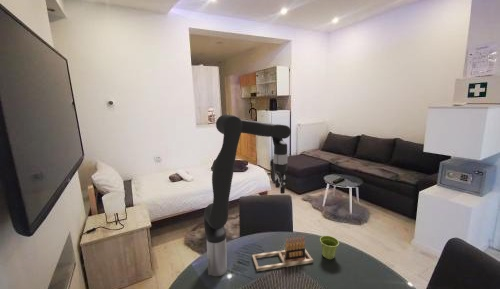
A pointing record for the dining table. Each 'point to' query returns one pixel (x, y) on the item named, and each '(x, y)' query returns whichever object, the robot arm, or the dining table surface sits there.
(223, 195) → the robot arm
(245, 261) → the dining table surface
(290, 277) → the dining table surface
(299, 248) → the ammunition clip
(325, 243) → the plant pot
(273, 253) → the wooden double frame
